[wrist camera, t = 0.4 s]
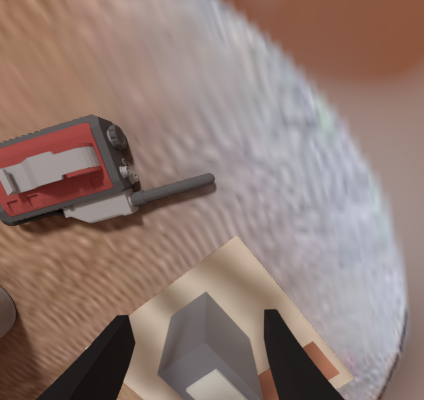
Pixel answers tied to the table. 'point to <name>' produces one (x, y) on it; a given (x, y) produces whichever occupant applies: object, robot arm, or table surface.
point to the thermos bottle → (6, 312)
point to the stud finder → (208, 355)
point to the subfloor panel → (235, 308)
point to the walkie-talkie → (74, 174)
